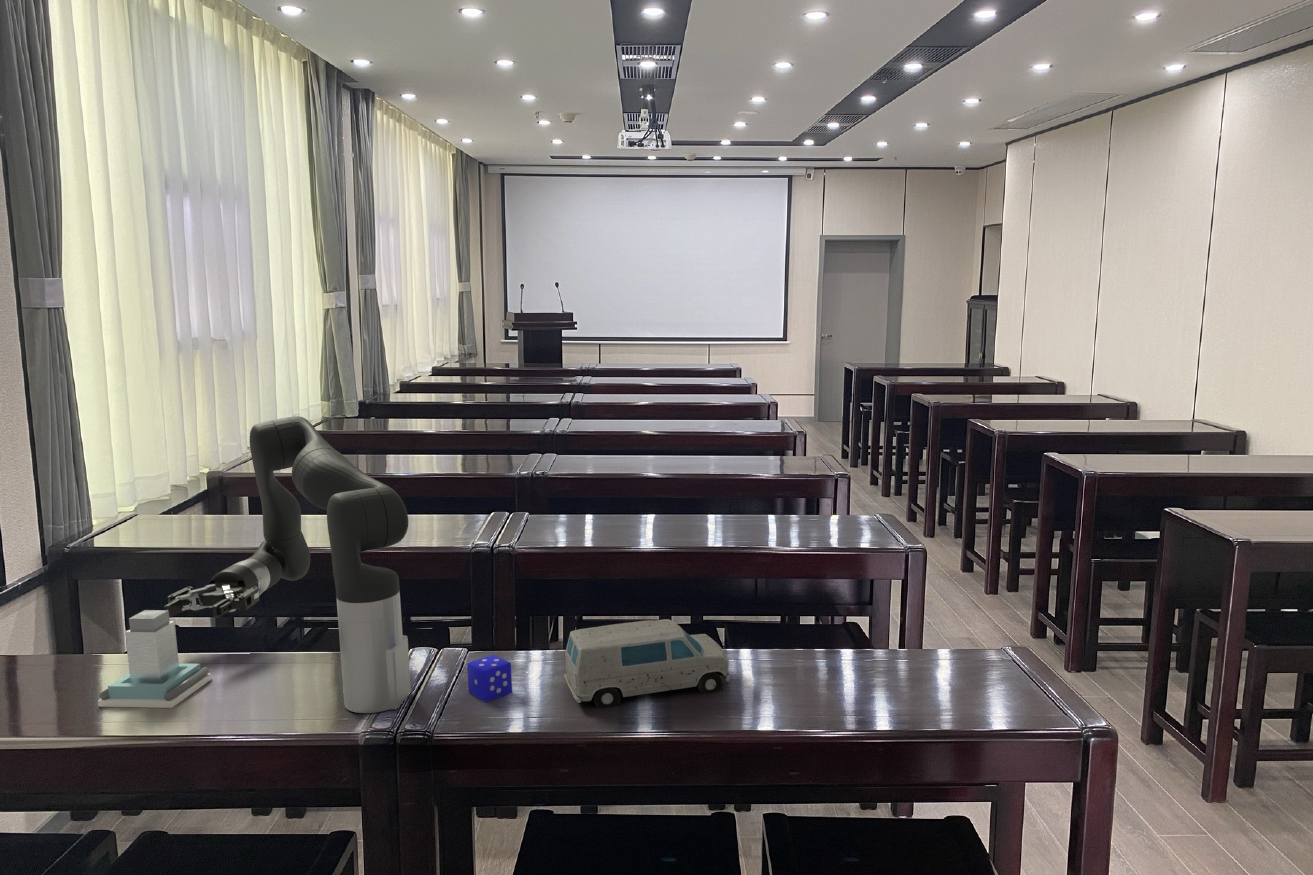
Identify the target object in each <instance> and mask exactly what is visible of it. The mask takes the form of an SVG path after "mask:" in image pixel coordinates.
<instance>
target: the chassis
mask: <svg viewBox="0 0 1313 875" xmlns="http://www.w3.org/2000/svg"><path fill="white" fill-rule="evenodd" d="M179 670H180V672H179V673H178V674H176V675H175V676H174V677H172V678H171V679H169V680H168V681H166V682H165V683H163V684H139V683H131V681H130V672H128V673H127V674H125V675H124V676H122V677H121V678H119V679H117V680H116V681H114V682H113V683H110V684H109V685H107V688H106V689H104V690H102V691H101V692H100V693H99V695H98V696H99V699H98V700H97V704H98V705H97V706H98V707H100V708H103V707H104V708H106V707H107V708H153V709H155V708H157V709H158V708H161V709H163V708H164V709H166V708H167V709H173V708H174V707H176V706H177V705H178V704H179V703H181V702H182V701H183V700H185V699H186V698H187V697H190V696H191V695H192V694H193V693H195V692H196V691H197V690H199V689H201V688H202V687H203V686H204V685H205V684H207V683H208V682H210V681H211V680H212V679H213V678H212V673H210V669H209V668H208V667H207V666H205V667H201V664H200V663H181V662H180V663H179Z"/></svg>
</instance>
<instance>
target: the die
mask: <svg viewBox="0 0 1313 875" xmlns="http://www.w3.org/2000/svg"><path fill="white" fill-rule="evenodd" d="M466 667H467V668H466V669H467V683H468V684H467V685H468V693H469V694H471V695H472V696H474V697H476V698H478V699H480V700H481V701H483V702H489V701H491V700H494V699H495V700H496V699H497V698H500V697H504V696H506V695H510V694H512V693H513V683H512V681H513V680H512V663H511V662H509V661H508V660H505V659H504V658H501V657H500V656H497V655H496V654H492V655H488V656H485V657H482V658H479V659H476V660H472V661H469V662H467V663H466Z"/></svg>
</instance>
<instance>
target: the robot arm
mask: <svg viewBox="0 0 1313 875" xmlns="http://www.w3.org/2000/svg"><path fill="white" fill-rule="evenodd" d="M249 449H250V450H249V451H250V456H251V460H252V465H253V472H254V476H255V481H256V486H257V489H258V494H259V497H260V502H261V511H262V529H263V530H262V532H263V538H264V540H263V541H262V542H261V543H260V545H259V546H258V547H257V549H256V551H255V552H254V553H253V554H252V555H251V556H250V557H248V558H247V559H245V560H241V561H238V562H236V563H234V564H232V565H231V566H228V567H226V568H224V569H222V570H221V571H219V572H216V573H215V574H214V576H212V578H211V580H210V581H209V584H207V585H205V586H204V587H200V588H196V589H194V587H193V586H187V587H184V588H182V589H180V590H178V591H175V592H174V593H171V594H170V595H168V596H167V602H168V604H165V605H164V606H163V608H164V610H168V611H169V618H173V617H175V616H176V615H178V614H180V613H181V612H183V611H189V610H192V611H193V612H195V611H200V610H203V609H206V608H209V609H211V608H212V609H211V610H212V618H214V619H218V618H221V617H222V616H224V615H226V614H227V613H233V612H236V610H238V609H239V611H240V612H241V611H242V612H245V611H247V610H248V609H250V608H252V607H253V606H254V605H255V604H256V603H258V602H259V601H260V595H261V594H263V593H264V592H265V591H266V590H268V589H270V588H271V587H273V586H274V585H276V584H277V583H278V582H279V581H280V579H284V580H287V581H291V582H293V581H298V580H300V579H302V578H303V577H304V576H305V575H307V573H308V571H309V569H310V566H311V553H310V552H311V551H310V548H309V545H308V544H307V541H306V539H305V535H304V534H303V532H302V511H301V506H300V503H299V502H298V499H297V498H296V497H295V495H293V494H292V492H291V491H289V490H288V489H287V488H286V487H285V486H284V485H282V484H281V483H280V481H278V479H277V478H276V476H275V473H274V472H275V471H276V472H277V471H281V470H287V469H291V480H292V483H293V485H294V486H295V489H296V490H297V491H298V492H299V493H300V494H301V495H302V496H303V497H304V498H305V499H306V500H307V501H308V502H310V504H312V505H314V506H315V507H317V508H320V509H323V510H325V511H326V522H327V523H326V524H327V534H328V539H329V540H328V541H329V546H330V552H331V553H330V554H331V564H332V575H333V578H334V579H333V580H334V587H335V595H336V596H335V597H336V609H337V620H338V621H337V622H338V623H337V624H338V635H339V638H338V639H339V650H340V663H341V666H340V667H341V676H342V677H341V678H342V693H343V702H344V704H343V705H344V708H346V710H348V711H350V712H354V713H359V714H374V713H380V712H384V711H389V710H398V709H400V707H401V706H402V705H401V704H404V702H405V701H406V700H407V699H408V697H409V696H410V695H409V693H411V694H412V686H411V670H410V655H409V640H408V639H409V638H408V636H407V635H403V623H402V608H401V607H402V606H401V595H400V594H401V592H400V578H399V575H398V573H397V572H396V571H395V570H392V569H390V568H387V567H382V566H377V565H376V566H375V565H369V564H367V563H364V562H362V560H361V556H360V553H362V552H367V551H372V550H378V549H384V548H388V547H391V546H394V545H396V544H398V543H400V542H401V541H402V540H403V539H404V538H405V536H406V534H407V532H408V529H409V516H408V514H409V513H408V511H407V508H406V504H404V503H405V502H404V501H403V499H402V498H401V496H400V495H399V494H398V493H397V491H395V490H394V489H393V488H392V487H390V486H388V485H387V484H385V483H383V482H381V481H379V480H377V479H375V478H373V477H371V476H370V475H368V474H366V473H365V472H364V471H362V470H361V469H360V468H358V467H357V466H356V465H354V464H353V463H352V462H351V461H350V460H349V459H348V458H347V457H345V456H344V455H343V454H342V453H341V452H340V451H338V450H336V449H335V448H333V446H332V445H331V444H329V443H328V442H327V440H326V439H324V438H323V437H322V435H321V434H320V433H319V431H318V430H317V429H316V428H315V427H314V426H313V424H312V423H311V422H310V421H309V420H308V419H307V418H305V417H303V416H296V415H295V416H294V415H293V416H288V417H282V418H277V419H272V420H267V421H263V422H259V423H256V424H254V425H253V426H252V427H251V429H250V431H249ZM196 598H197V599H198V602H199V604H197V600H196ZM408 695H409V696H408ZM407 696H408V697H407ZM406 698H407V699H406ZM405 699H406V700H405ZM404 700H405V701H404ZM403 701H404V702H403ZM400 705H401V706H400ZM397 708H398V709H397Z"/></svg>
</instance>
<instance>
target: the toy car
mask: <svg viewBox="0 0 1313 875" xmlns="http://www.w3.org/2000/svg"><path fill="white" fill-rule="evenodd" d="M567 640H568V641H567V643H566V649H565V655H564V657H565V671H566V673H564V674H563V675H564V679H565V682H566V684H567V685H568V688H569V690H570V693H571V695H572V696H573V698H574V700H575V702H576V703H578V704H579V703H582V702H591V701H592V699H593V703H594V705H595V707H596V708H597V709H603V708H604V709H605V708H614V707H619V706H620V705H621V703H622V699H621V698H626V697H634V696H639V695H640V696H641V695H647V694H653V693H660V692H666V691H674V690H675V691H676V690H681V689H688V688H694V687H697V691H698V692H699V693H700V694H702V695H707V694H709V695H711V694H717V693H720V692H721V691H722V689H723V685H724V682H723V679H724V681H726V682H730V681H731V674H730V673H729V664H730V660H729V657H728V655H727V654H726V652H725V651H724V649H723V648H722V647H721V646H720V645H719V644H718V643H717V641H715V640H714V639H713V638H711V637H710V636H709V635H708V634H706V633H698V634H689V633H687V631H686V630H684V629H683V628H682V627H681V626H680V625H679V624H677V623H676V622H675V621H673V620H672V619H669V618H668V619H665V618H664V619H658V620H657V619H655V620H641V621H640V620H639V621H632V622H622V623H615V624H607V625H601V626H593V627H592V626H591V627H587V628H586V627H585V628H580V629H575V630H571V631H570V632H569V636H568V639H567ZM621 696H622V697H621Z"/></svg>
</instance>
